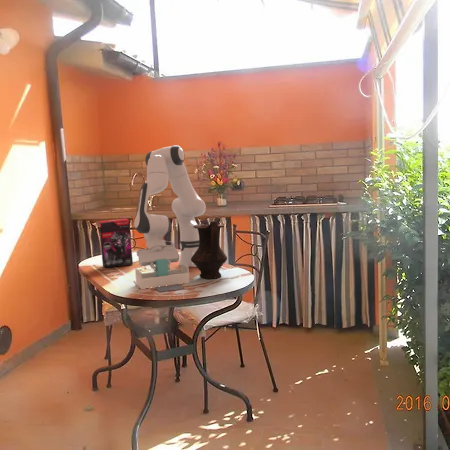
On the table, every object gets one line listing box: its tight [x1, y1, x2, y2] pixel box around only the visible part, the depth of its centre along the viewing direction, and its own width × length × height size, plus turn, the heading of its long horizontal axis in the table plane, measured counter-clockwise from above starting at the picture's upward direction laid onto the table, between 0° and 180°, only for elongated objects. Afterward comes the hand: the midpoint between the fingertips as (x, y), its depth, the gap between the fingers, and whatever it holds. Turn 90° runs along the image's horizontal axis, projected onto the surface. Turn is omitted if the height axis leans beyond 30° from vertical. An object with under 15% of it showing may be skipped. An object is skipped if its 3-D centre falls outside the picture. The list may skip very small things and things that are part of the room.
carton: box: [133, 262, 190, 290], centre depth 251 cm, size 24×18×8 cm
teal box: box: [154, 259, 169, 277], centre depth 248 cm, size 5×5×12 cm
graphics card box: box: [98, 218, 134, 269], centre depth 295 cm, size 17×7×27 cm, turn 115°
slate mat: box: [153, 284, 185, 293], centre depth 238 cm, size 12×9×1 cm
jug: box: [191, 220, 228, 280], centre depth 255 cm, size 21×18×30 cm
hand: (162, 270), depth 248 cm, fingers closed on teal box, 5 cm apart
